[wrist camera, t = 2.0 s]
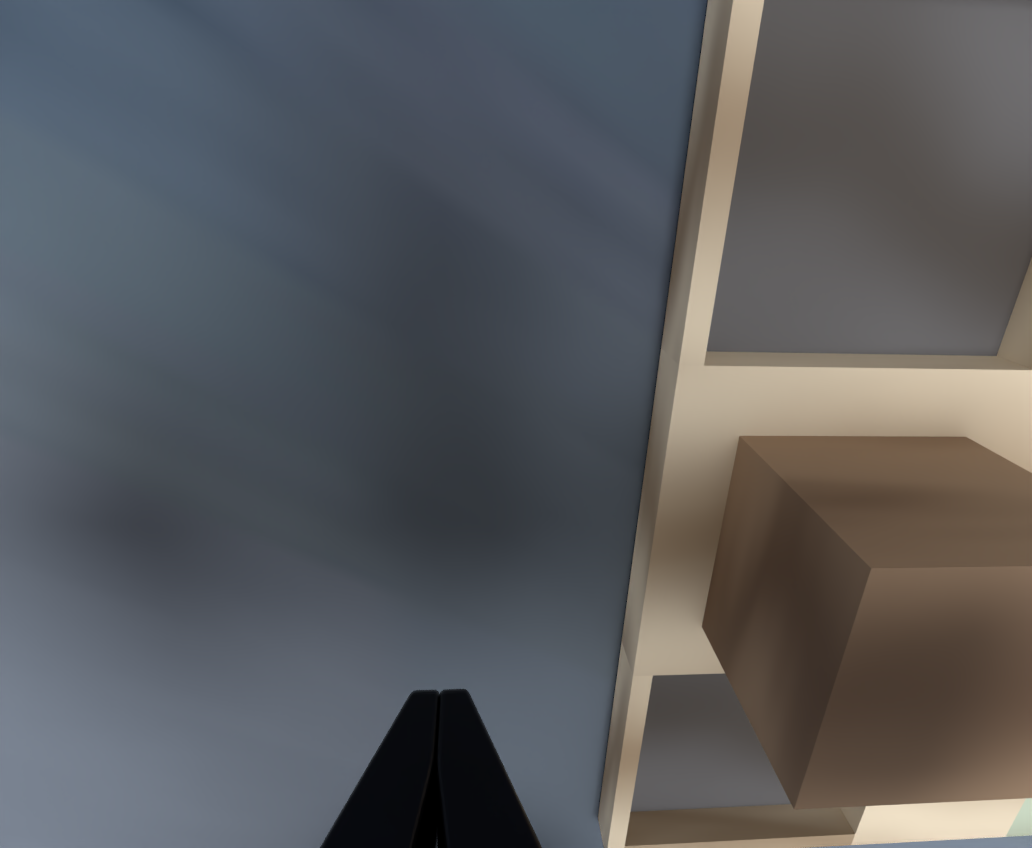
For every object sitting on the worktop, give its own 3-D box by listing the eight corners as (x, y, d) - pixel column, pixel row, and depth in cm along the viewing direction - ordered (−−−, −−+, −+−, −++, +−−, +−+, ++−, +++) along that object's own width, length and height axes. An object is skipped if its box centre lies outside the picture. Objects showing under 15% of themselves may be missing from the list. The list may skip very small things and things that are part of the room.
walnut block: (899, 622, 15) (1063, 796, 11) (701, 626, 15) (793, 809, 10) (966, 436, 13) (1195, 563, 9) (739, 436, 13) (870, 568, 9)
